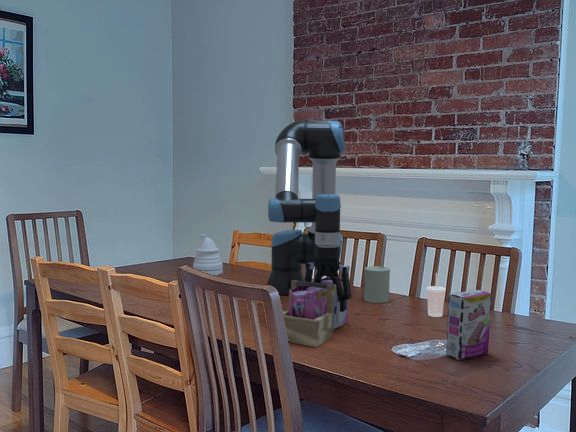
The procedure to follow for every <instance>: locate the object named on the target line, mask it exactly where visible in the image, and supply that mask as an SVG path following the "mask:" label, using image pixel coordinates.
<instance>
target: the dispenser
mask: <svg viewBox="0 0 576 432" xmlns="http://www.w3.org/2000/svg"><path fill="white" fill-rule="evenodd" d="M313 282H314V281H312V282H304V281H297V280H293V281H291V289H293V288H296V287H298V285H301V286H309V287H318V288H326V289H327V313H326V314H324V315H322V316H320V317H318V318H316V319H314V320H313V319H306V318H300V317H293V316H288V314H289V308H287V309H285V310H283V311H282V312H283V316H284V321H285V326H286V331H287V335H288V339H289V342H288V343H291V344H296V345H303V346H308V347H314V348H317V347H319V346H321V345H322V344H323V343H325V342H326V341H329V340H330V339H332V338H333V337H334V329H333V327H334V285H331V284H321V283H313Z"/></svg>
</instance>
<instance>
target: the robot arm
mask: <svg viewBox="0 0 576 432" xmlns="http://www.w3.org/2000/svg"><path fill="white" fill-rule="evenodd" d="M345 151H346V150H345V139H344V132H343V127H342V123H341V122H340V121H338V120H329V119H328V120H327V119H326V120H325V119H324V120H295V121H293V122H291V123H288V125H287V126H285V127H284V128H283V129H282V130H281V131H280V133H278V136H277V137H276V139H275V144H274V152H275V155H276V158H277V159H276V172H275V173H276V175H275V176H276V177H275V191H274V193H275V194H274V198H269V200H268V203H267V205H268V206H267V218H268V220H269V221H270V222H272V223H311V226H310V227H308V228H307V233H304V232H303V230H302V229H289V230H281V231H278V232H275V233H273V234H272V236H271V244H270V247H271V267H270V269H271V272H270V275H269V278H268V281H267V283H266V286H267V285H271V286H273V287H275V288H276V289H277V290H278V292H279V294H280V296H289V290H290V289H291V281H293V280H297V281H304V282H314V283H320V282H321V279H323V277H326V278H327V277H330V278H331V280H332V282H333V284H334V285H335V284H336V287H337V295H338V298H339V301H337V323H340V322H342V321H343V312H344V311H345V301H346V300H348V301H349V300H350V299H352V297H353V296H352V289H351V282H350V281H351V280H350V275H349V274H350V266H349V265H342V264H341V262H340V260H341V255H342V254H341V253H342V248H343V246H342V245H343V234H342V233H341V208H342V204H341V196H340V195H339V194H336V189H337V188H336V185H337V181H336V180H337V174H336V173H337V162H338V161H339V160H340V159H341V154H344V153H345ZM302 153H303V154H308V159H309V161H311V162H312V190H311V191H312V195H311V196H312V197H311V198H299V177H300V175H299V172H300V170H299V167H300V165H299V163H300V159H299V158H300V156H301V155H302ZM302 265H304V266H305V277H304V275H303V267H302ZM314 269H315V270H316V272H315V273H316V274H315V277H314V280H313V274H314ZM339 270H340V273H341V279H342V282H343V288H342V285H341V283H340V280H339V279H340V275H339V272H338V271H339ZM299 286H301V285H298V287H299ZM343 289H344V291H343Z"/></svg>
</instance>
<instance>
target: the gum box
mask: <svg viewBox="0 0 576 432" xmlns="http://www.w3.org/2000/svg"><path fill="white" fill-rule="evenodd" d="M339 280H340V283H341V285H342V288H343V282H342V278H339ZM312 282H313V283H314V281H312ZM320 283H321V284H331V285H334V284H333V282H332V280H331V278H330V277H327V276H326V277H324V278H323V277H322V279H321V282H320ZM343 291H344V289H343ZM337 301H339V298H338V295H337V287H336V284H335V285H334V327H333V330H335V329H336V328H339V327H341V326H343V325H346V324H347V323H349V300H346V301H345V311H344V312H343V321H342V322H340V323H337ZM288 309H289V314H288V316H293V317H300V318H306V319H313V320H314V319H316V318H318V317H320V316H322V315H324V314H326V313H327V289H326V288H318V287H309V286H299V287H296V288H293V289H290V290H289V295H288Z"/></svg>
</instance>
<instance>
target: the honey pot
mask: <svg viewBox="0 0 576 432" xmlns="http://www.w3.org/2000/svg"><path fill="white" fill-rule="evenodd" d="M199 237H200V238H201V239H202V241H201V242H200V245H199V246H198V247H197V248H195V251H196V254H195V256H194V261H193V264H192V269H193V268H194V269H196V270H199V271H201V272H204V273H208V274H211V275H213V274H214V275H218V274H221V273H223V274H224V266H223V265H224V264H223V262H222V258H221V255H220V253H219V251H220V248H219V247H217V245H216V244H215V242H214V240H213V239H212V238H210V237H207V234H203V233H202V234H201V233H200V236H199Z"/></svg>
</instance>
